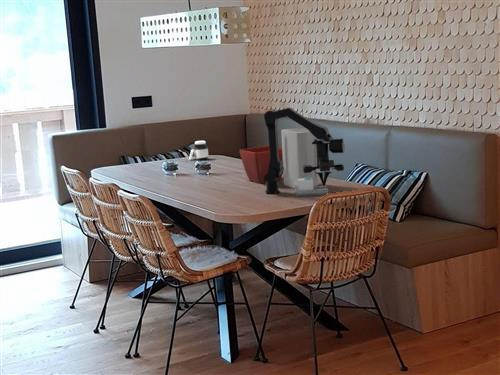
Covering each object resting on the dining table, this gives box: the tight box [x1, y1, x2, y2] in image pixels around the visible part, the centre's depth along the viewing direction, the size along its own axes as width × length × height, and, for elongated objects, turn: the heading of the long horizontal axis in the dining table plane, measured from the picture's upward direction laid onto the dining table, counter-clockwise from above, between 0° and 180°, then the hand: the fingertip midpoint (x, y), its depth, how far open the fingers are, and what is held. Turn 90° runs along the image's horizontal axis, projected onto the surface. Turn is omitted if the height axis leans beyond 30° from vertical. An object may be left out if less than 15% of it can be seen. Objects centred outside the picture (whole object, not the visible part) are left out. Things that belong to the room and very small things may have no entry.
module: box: [297, 177, 313, 190], centre depth 365 cm, size 5×7×7 cm
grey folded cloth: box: [294, 185, 329, 197], centre depth 366 cm, size 10×15×4 cm, turn 92°
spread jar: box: [188, 140, 209, 161], centre depth 493 cm, size 12×11×12 cm
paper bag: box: [280, 128, 320, 189], centre depth 384 cm, size 19×15×28 cm
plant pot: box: [239, 145, 283, 184], centre depth 405 cm, size 19×19×17 cm
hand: (323, 185), depth 365 cm, fingers closed
